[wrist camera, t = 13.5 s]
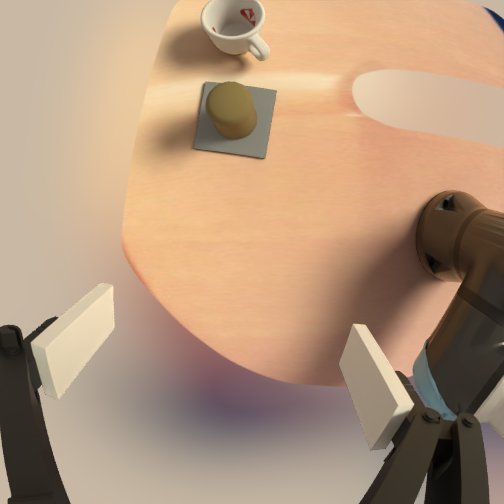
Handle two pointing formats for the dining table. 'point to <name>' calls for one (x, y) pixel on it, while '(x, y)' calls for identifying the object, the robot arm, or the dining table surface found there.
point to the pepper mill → (231, 110)
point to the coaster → (246, 146)
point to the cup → (236, 26)
